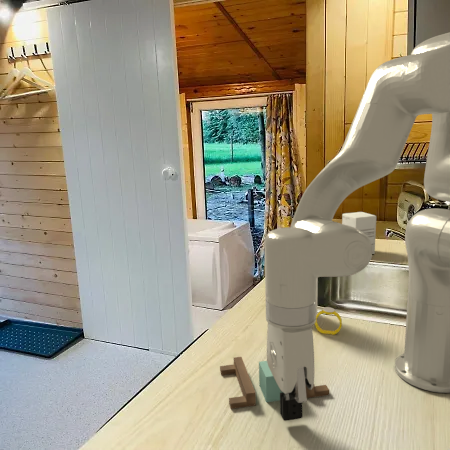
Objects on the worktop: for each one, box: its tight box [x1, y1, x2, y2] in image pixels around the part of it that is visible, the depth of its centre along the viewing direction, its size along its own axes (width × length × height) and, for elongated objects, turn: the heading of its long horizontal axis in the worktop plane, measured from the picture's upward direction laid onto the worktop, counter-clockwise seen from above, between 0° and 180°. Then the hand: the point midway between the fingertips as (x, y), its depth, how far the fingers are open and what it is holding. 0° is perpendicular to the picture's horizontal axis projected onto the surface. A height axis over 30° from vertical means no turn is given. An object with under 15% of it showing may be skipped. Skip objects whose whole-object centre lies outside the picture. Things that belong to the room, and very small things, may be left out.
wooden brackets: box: [219, 356, 330, 410], centre depth 78 cm, size 18×12×2 cm
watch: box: [314, 306, 343, 336], centre depth 96 cm, size 6×3×6 cm, turn 72°
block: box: [258, 360, 282, 403], centre depth 75 cm, size 5×5×5 cm
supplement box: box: [341, 211, 377, 255], centre depth 155 cm, size 9×9×15 cm
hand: (291, 416), depth 67 cm, fingers closed
